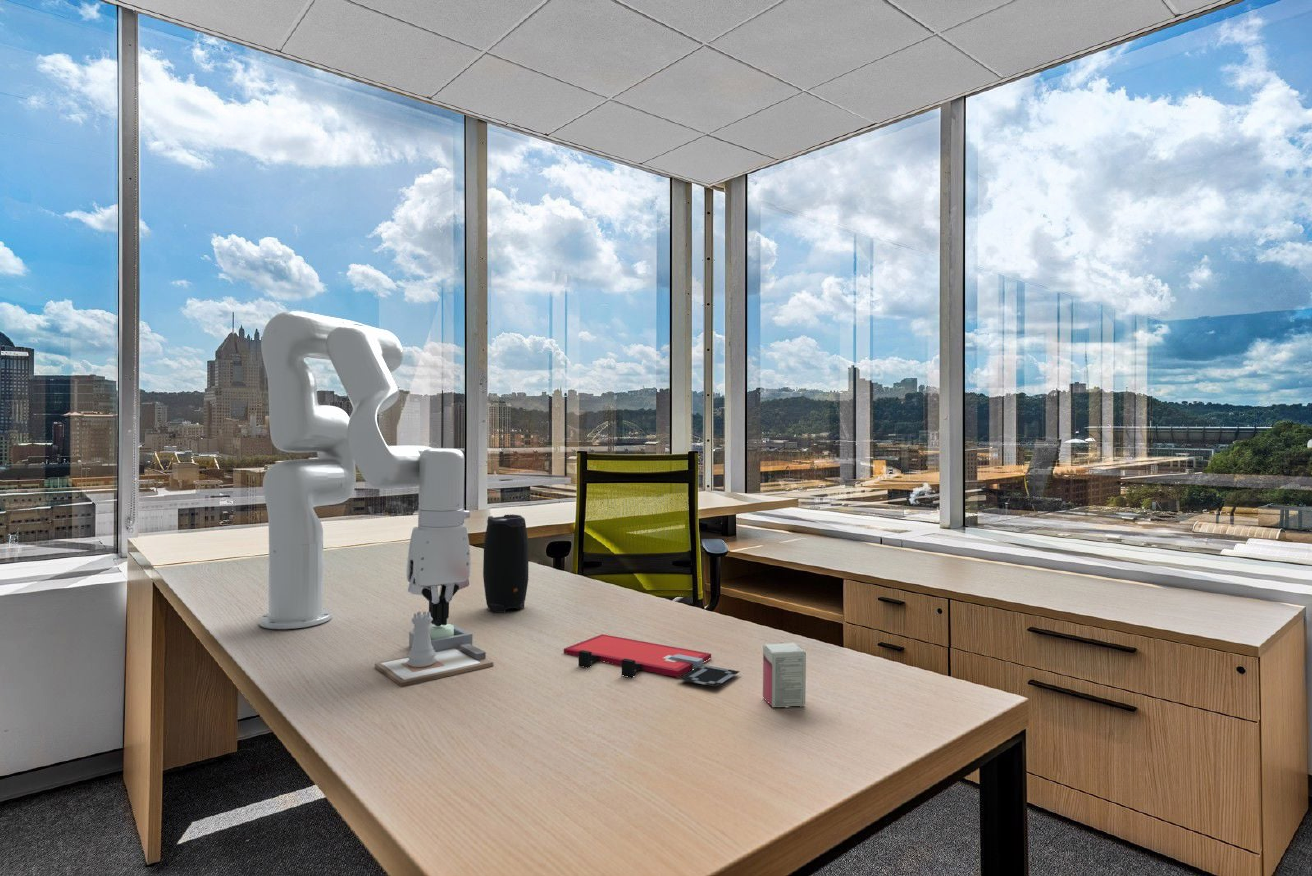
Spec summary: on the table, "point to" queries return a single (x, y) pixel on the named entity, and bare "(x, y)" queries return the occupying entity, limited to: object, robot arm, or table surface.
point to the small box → (784, 674)
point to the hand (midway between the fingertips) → (438, 623)
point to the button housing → (448, 640)
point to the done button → (441, 631)
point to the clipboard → (436, 665)
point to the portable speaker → (505, 562)
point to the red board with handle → (649, 659)
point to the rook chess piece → (421, 642)
